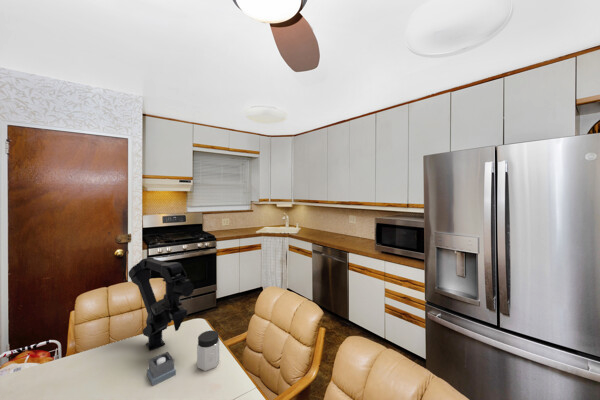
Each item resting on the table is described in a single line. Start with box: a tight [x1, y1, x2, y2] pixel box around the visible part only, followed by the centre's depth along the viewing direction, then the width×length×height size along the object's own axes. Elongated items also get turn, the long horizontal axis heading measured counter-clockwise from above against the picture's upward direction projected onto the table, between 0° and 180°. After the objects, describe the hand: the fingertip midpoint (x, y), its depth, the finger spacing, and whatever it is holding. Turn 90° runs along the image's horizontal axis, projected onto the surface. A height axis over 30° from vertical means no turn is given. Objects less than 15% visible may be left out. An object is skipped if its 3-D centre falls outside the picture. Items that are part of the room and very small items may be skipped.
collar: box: [148, 351, 175, 379], centre depth 97 cm, size 7×7×4 cm
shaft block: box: [146, 357, 177, 386], centre depth 97 cm, size 8×8×6 cm
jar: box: [196, 330, 220, 372], centre depth 103 cm, size 9×8×12 cm
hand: (173, 326), depth 110 cm, fingers open, 9 cm apart
